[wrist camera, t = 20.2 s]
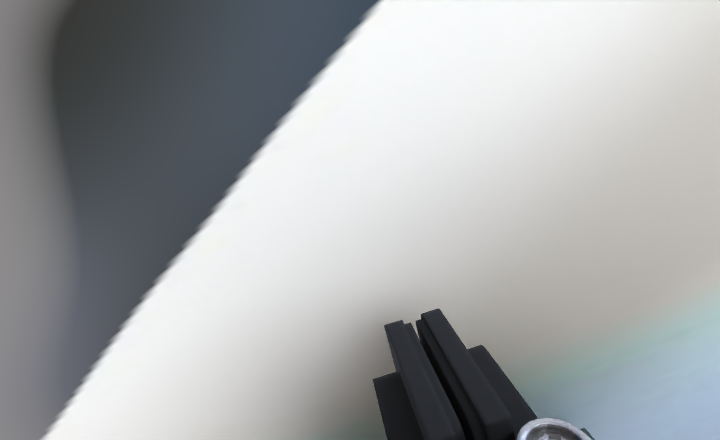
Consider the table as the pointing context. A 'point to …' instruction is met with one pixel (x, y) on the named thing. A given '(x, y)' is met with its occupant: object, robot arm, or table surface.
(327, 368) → the table surface
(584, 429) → the drawer
